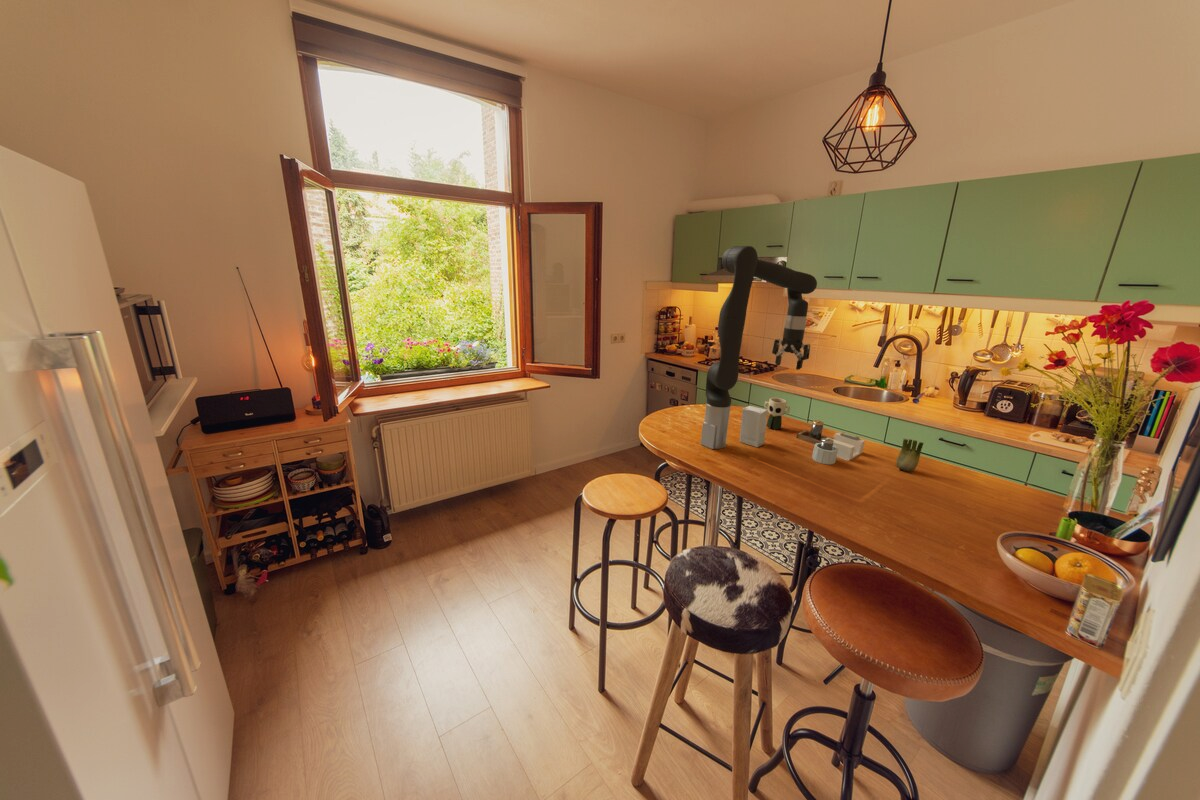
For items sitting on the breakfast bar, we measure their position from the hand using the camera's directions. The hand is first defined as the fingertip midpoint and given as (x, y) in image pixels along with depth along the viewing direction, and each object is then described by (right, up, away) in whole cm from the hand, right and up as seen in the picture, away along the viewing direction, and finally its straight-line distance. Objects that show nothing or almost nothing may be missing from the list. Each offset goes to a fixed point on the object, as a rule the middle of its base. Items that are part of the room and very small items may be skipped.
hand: (787, 367), depth 174 cm
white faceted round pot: (+7, -36, -14) cm, 40 cm away
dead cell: (+7, -36, -14) cm, 39 cm away
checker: (+18, -34, -7) cm, 39 cm away
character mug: (+2, -26, +19) cm, 32 cm away
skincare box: (-15, -31, +1) cm, 34 cm away
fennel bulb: (+34, -39, -18) cm, 55 cm away
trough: (+13, -31, +4) cm, 34 cm away
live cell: (+13, -30, +4) cm, 33 cm away
